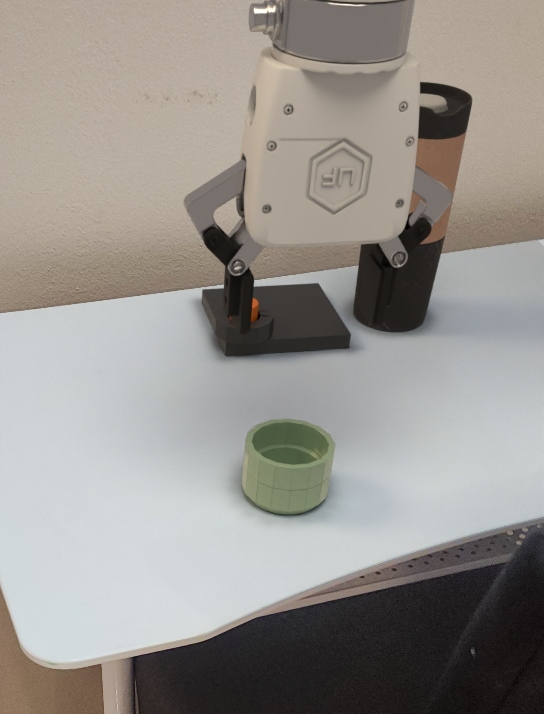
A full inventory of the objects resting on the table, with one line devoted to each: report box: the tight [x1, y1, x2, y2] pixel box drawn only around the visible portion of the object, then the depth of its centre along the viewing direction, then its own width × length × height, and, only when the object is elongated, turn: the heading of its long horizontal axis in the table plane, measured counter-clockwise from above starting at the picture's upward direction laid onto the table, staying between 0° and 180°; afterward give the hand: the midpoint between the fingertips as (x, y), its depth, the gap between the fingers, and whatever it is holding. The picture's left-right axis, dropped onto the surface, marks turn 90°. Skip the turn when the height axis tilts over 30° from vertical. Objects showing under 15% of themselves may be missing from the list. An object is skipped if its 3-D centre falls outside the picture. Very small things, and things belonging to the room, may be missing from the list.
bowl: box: [241, 418, 336, 515], centre depth 75 cm, size 7×7×4 cm
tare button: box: [229, 298, 259, 322], centre depth 91 cm, size 3×3×2 cm
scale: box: [201, 282, 352, 357], centre depth 96 cm, size 13×12×3 cm
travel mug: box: [352, 81, 473, 333], centre depth 92 cm, size 8×8×20 cm
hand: (305, 320), depth 67 cm, fingers open, 8 cm apart
